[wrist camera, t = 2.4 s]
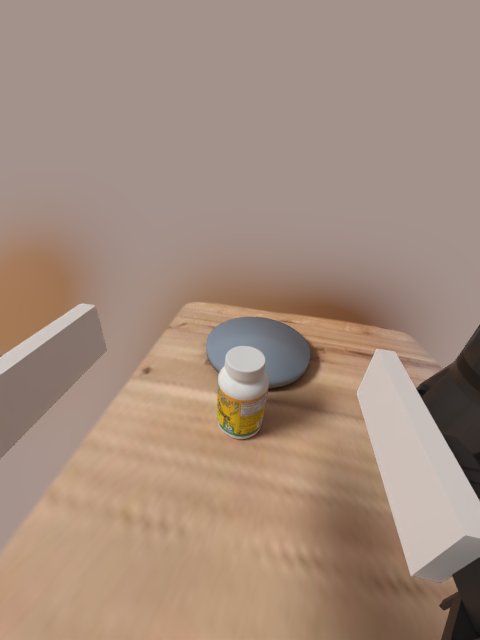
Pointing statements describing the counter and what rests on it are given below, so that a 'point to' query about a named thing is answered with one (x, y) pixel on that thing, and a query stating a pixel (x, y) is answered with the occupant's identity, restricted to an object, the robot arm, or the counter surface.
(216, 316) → the counter surface
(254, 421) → the supplement bottle
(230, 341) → the slate dish
